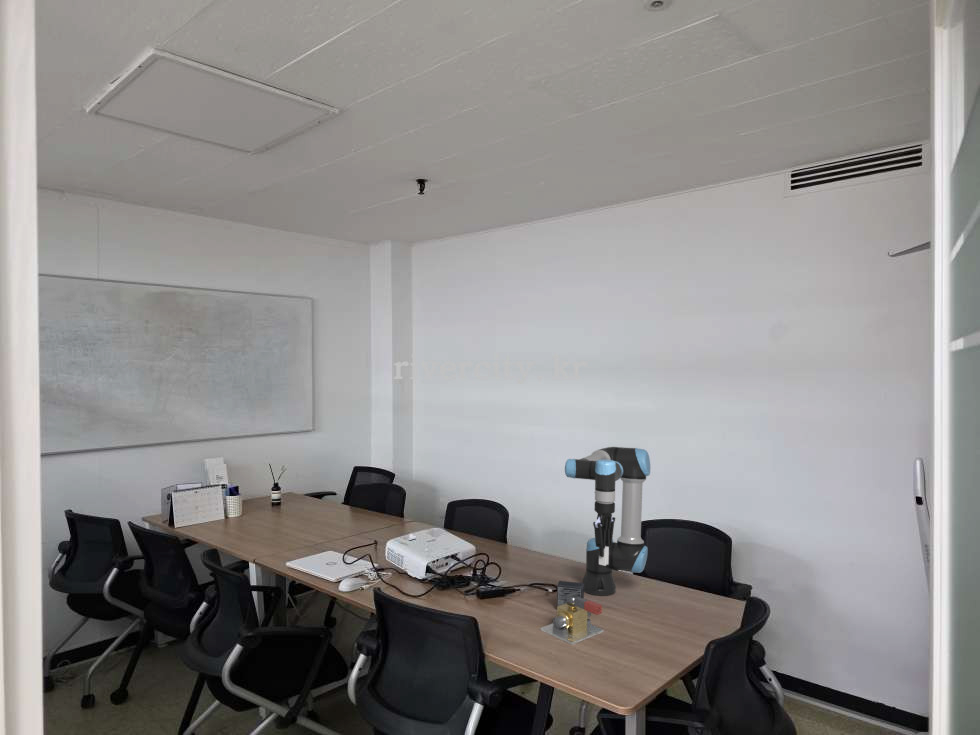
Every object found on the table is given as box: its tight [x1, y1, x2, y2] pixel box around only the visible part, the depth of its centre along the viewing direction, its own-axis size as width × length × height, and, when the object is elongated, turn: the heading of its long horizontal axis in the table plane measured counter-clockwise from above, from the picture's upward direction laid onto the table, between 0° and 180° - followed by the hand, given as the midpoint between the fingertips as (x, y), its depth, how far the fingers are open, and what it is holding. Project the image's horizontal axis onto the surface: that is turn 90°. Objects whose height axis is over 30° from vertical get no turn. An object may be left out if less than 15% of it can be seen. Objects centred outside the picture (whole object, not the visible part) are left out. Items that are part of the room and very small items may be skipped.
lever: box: [567, 594, 603, 616], centre depth 233 cm, size 15×4×3 cm, turn 41°
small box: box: [556, 580, 585, 607], centre depth 259 cm, size 11×6×10 cm, turn 74°
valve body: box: [539, 603, 605, 646], centre depth 237 cm, size 18×16×10 cm
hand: (603, 564), depth 235 cm, fingers closed
